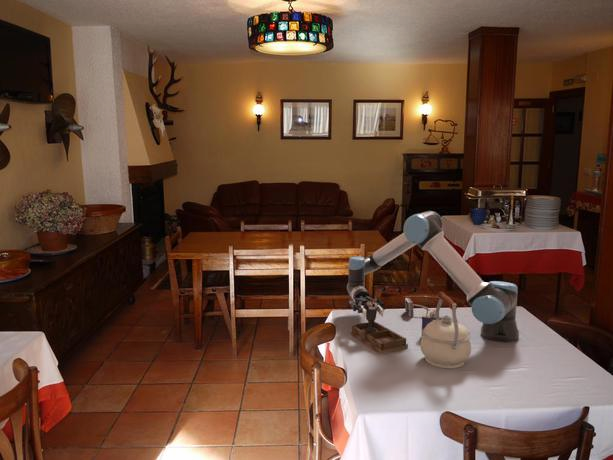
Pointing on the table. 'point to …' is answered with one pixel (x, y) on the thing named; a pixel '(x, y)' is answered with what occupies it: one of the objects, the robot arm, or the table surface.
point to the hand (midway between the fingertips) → (373, 313)
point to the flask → (428, 319)
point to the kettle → (445, 339)
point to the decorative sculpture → (410, 305)
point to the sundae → (371, 313)
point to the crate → (379, 338)
